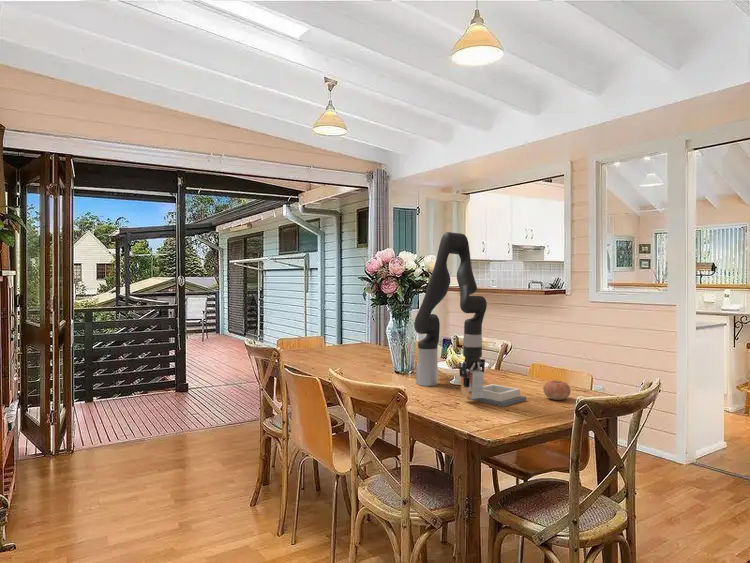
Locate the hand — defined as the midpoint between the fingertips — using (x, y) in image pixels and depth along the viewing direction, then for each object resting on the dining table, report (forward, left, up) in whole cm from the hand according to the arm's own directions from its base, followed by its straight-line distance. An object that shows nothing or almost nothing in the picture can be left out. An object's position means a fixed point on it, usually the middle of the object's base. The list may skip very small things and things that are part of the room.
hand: (471, 385), depth 212 cm
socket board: (+3, +12, -7) cm, 14 cm away
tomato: (+19, +32, -7) cm, 38 cm away
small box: (0, 0, -4) cm, 4 cm away
